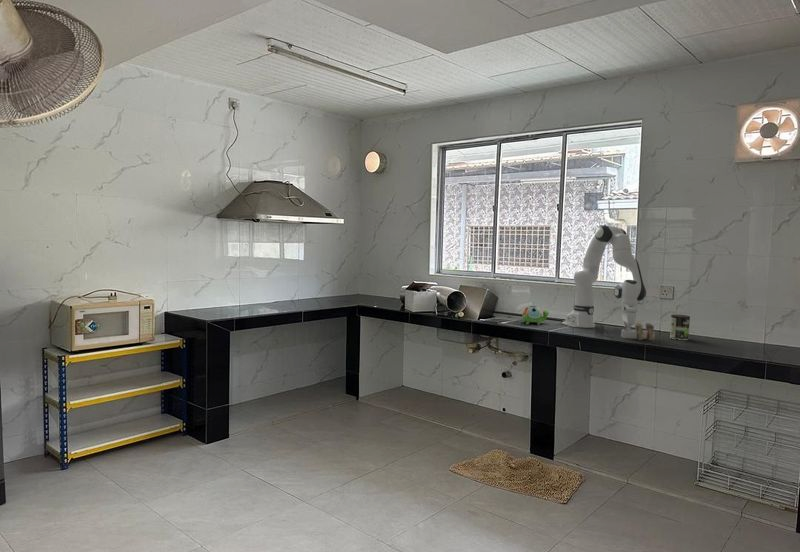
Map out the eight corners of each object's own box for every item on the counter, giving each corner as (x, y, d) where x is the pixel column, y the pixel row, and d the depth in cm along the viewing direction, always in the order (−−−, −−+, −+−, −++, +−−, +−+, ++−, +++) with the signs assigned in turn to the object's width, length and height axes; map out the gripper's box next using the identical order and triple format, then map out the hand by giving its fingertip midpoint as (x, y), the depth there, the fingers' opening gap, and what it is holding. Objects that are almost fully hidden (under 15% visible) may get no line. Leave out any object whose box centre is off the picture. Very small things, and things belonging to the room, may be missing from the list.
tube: (622, 338, 334) (623, 330, 334) (621, 336, 339) (621, 329, 338) (654, 339, 331) (655, 332, 330) (652, 338, 335) (653, 330, 335)
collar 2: (649, 340, 328) (650, 326, 328) (645, 337, 339) (645, 323, 338) (653, 340, 328) (653, 326, 327) (648, 337, 339) (649, 323, 338)
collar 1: (638, 339, 329) (639, 325, 329) (634, 336, 340) (635, 322, 339) (642, 339, 329) (643, 325, 328) (638, 336, 340) (638, 322, 339)
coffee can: (692, 339, 334) (693, 316, 333) (682, 340, 329) (684, 317, 328) (675, 336, 343) (677, 313, 342) (666, 338, 337) (667, 315, 336)
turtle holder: (551, 325, 377) (551, 307, 376) (524, 324, 376) (525, 307, 375) (545, 322, 389) (546, 305, 388) (520, 321, 388) (520, 304, 387)
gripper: (620, 304, 345) (618, 326, 346) (626, 308, 325) (624, 332, 326) (631, 305, 344) (629, 327, 345) (638, 309, 324) (636, 333, 325)
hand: (627, 329), depth 335 cm, fingers open, 8 cm apart
